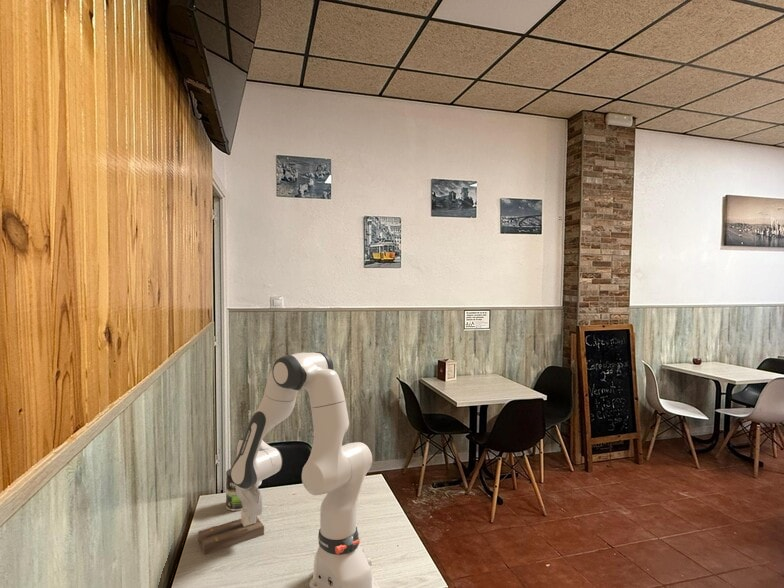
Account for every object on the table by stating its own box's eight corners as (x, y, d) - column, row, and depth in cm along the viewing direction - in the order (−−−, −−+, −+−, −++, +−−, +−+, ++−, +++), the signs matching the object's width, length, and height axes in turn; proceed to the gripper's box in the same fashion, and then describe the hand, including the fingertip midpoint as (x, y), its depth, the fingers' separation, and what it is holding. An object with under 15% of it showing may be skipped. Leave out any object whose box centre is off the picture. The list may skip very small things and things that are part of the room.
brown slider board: (263, 534, 149) (264, 525, 149) (204, 554, 137) (204, 544, 137) (255, 522, 157) (255, 513, 157) (198, 540, 145) (198, 531, 146)
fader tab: (256, 522, 151) (256, 508, 151) (243, 526, 148) (244, 511, 148) (253, 518, 154) (253, 504, 154) (241, 522, 151) (241, 507, 151)
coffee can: (251, 509, 167) (252, 474, 167) (224, 512, 164) (224, 477, 164) (253, 497, 177) (253, 464, 177) (227, 500, 174) (227, 466, 174)
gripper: (267, 488, 145) (267, 527, 144) (249, 468, 161) (248, 503, 161) (249, 493, 141) (248, 533, 141) (232, 472, 157) (232, 508, 157)
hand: (248, 517), depth 151 cm, fingers open, 6 cm apart
